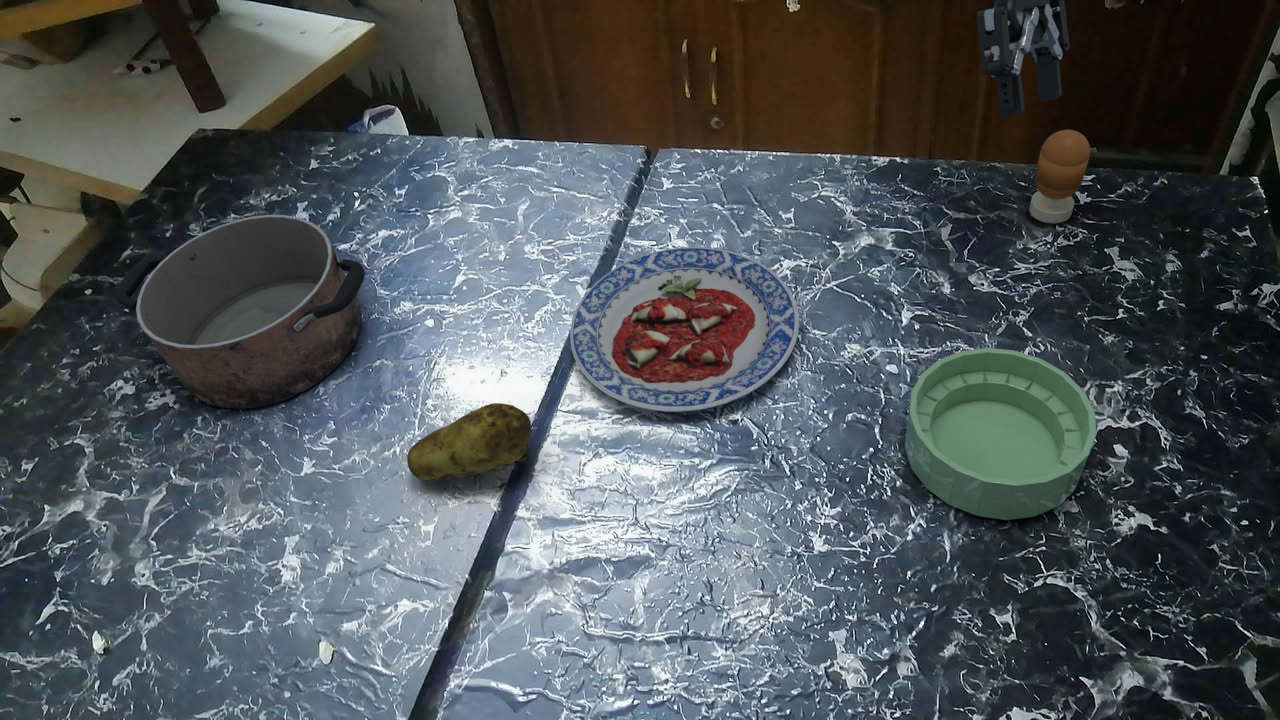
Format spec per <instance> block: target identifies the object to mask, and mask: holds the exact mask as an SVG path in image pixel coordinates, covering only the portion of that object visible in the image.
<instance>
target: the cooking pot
mask: <svg viewBox="0 0 1280 720" xmlns="http://www.w3.org/2000/svg"><path fill="white" fill-rule="evenodd" d="M345 272H347V274H346V273H345ZM365 276H366V271H365V269H364V267H363V264H361V263H360V262H358V261H356V260H352V259H351V260H350V259H345V258H343V259H342V258H341V256H340V255H339V254H338V252H335V250H334V247H333V245H332V243H331V241H330V239H329V237H328V235H327V234H326V233H325V232H324V230H323V229H322V228H321V227H319V225H317V224H315V223H313V222H311V221H310V220H307V219H304V218H301V217H298V216H292V215H286V214H265V215H256V216H249V217H244V218H240V219H236V220H233V221H230V222H226V223H223V224H220V225H218V226H216V227H213V228H211V229H208V230H206V231H204V232H202V233H200V234H198V235H197V236H194V237H193V238H191V239H189V240H188V241H186V242H185V243H183V244H181V245H180V246H178V247H177V248H176V249H175V250H173V251H172V252H171V253H169V254H163V255H162V254H161V255H151V256H148V257H145V258H143V259H141V260H140V261H138V262H137V263H136V264H135V265H134V266H133V267H132V268H131V269H130V270H129V271H128V273H126V275H125V276H124V278H123V279H122V280H121V282H120V283H119V285H118V286H117V288H116V290H115V294H114V296H115V299H116V301H117V302H118V303H119V304H120V305H122V306H123V307H125V308H127V309H129V310H130V311H133V312H136V317H137V318H136V319H137V322H138V324H139V325H140V327H141V329H142V330H143V332H144V333H145V335H146V337H148V339H149V340H150V341H151V343H152V344H153V345H154V347H155V348H156V350H157V351H158V352H159V354H160V355H161V357H162V358H163V360H164V361H165V362H166V364H167V365H168V366H169V368H170V369H171V371H172V372H173V373H174V374H175V376H176V377H177V378H178V381H180V383H181V384H182V385H183V387H184V388H185V389H186V390H187V391H188V392H189V393H190V394H191V395H192V396H194V398H196V399H197V400H198V401H199V400H200V401H201V402H203V403H205V404H207V405H211V406H215V407H219V408H223V409H225V408H226V409H238V410H239V409H241V410H242V409H243V410H244V409H254V408H261V407H266V406H269V405H273V404H277V403H280V402H282V401H285V400H288V399H291V398H293V397H296V396H297V395H299V394H302V393H303V392H306V391H307V390H309V389H311V388H312V387H314V386H315V385H317V384H318V383H320V382H321V381H322V380H324V379H325V378H326V377H328V376H329V375H330V374H331V373H332V372H333V371H334V370H336V369H337V367H338V366H339V365H340V364H342V362H343V361H344V360H345V359H346V357H347V356H348V354H349V352H351V349H352V348H353V346H354V345H355V343H356V340H357V338H358V335H359V333H360V330H361V323H362V312H361V305H360V302H359V301H358V298H357V294H358V292H359V291H360V289H361V287H362V284H363V282H364V279H365ZM146 277H147V278H146ZM145 279H146V280H145ZM144 280H145V281H144ZM143 281H144V283H143V284H142V282H143ZM141 284H142V286H141V289H140V291H139V294H138V297H137V299H134V298H132V296H133V295H134V294H135V292H136V291H137V289H138V288H139V287H140V285H141Z"/></svg>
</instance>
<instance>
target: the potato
mask: <svg viewBox="0 0 1280 720" xmlns="http://www.w3.org/2000/svg"><path fill="white" fill-rule="evenodd" d="M530 419H531V418H530V417H529V415H528V414H526V412H524V411H523V410H522V409H520V408H518V407H516V406H515V405H513V404H508V403H500V402H495V403H490V404H486V405H483V406H481V407H479V408H476V409H474V410H470V412H468V413H467V414H465V415H463V416H461V417H459V418H457V420H455V421H453V422H452V423H450V424H448V425H445V426H443V427H441V428H438V429H436V430H433V432H430V433H428V434H427V435H425V436H424V437H421V439H418V441H416V442H415V443H414V444H413V445H412V446H411V447H410V449H409V450H408V452H407V455H406V456H407V457H406V461H407V467H408V470H409V472H410V473H411V474H412V476H414V477H415V478H416V479H420V480H423V481H427V482H434V481H440V480H442V479H451V478H461V477H469V476H474V475H478V474H481V473H484V472H486V471H490V470H493V469H496V468H498V467H501V466H505V465H508V464H511V463H514V462H515V463H521V462H523V461H525V460H526V459H527V458H528V457H527V453H526V452H527V450H528V448H529V441H530V438H531V435H532V422H531V420H530Z"/></svg>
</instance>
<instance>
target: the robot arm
mask: <svg viewBox="0 0 1280 720" xmlns="http://www.w3.org/2000/svg"><path fill="white" fill-rule="evenodd" d="M1067 21H1068V20H1067V13H1066V4H1065V0H994V1H993V7H991V8H988V9H983V10H979V11H977V14H976V23H977V24H976V25H977V35H978V36H977V37H978V48H979V59H980V68H981V69H980V70H981V74H982V75H983V76H988V75H990V77H991V78H992V79H993V80H995V81H996V90H997V91H996V92H997V98H998V108H999V114H1000V115H1001V116H1002V117H1003V118H1005V117H1012V116H1019V115H1021V114H1023V113H1024V112H1025V110H1026V109H1025V99H1024V90H1023V80H1022V74H1020V73H1021V69H1022V65H1023V60H1024V57H1025V55H1027V54H1028V53H1030V54H1031V57H1032V58H1033V59H1032V60H1033V61H1034V63H1035V66H1034V69H1035V80H1036V89H1037V98H1038V100H1039V101H1040V102H1047V101H1049V102H1050V101H1054V100H1055V101H1056V100H1058V99H1060V98H1061V97H1062V95H1063V89H1062V79H1061V69H1060V60H1062V58H1063V53H1064V52H1068V51H1070V50H1069V49H1070V38H1069V30H1068V22H1067ZM992 55H993V60H992Z"/></svg>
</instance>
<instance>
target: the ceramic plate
mask: <svg viewBox="0 0 1280 720" xmlns="http://www.w3.org/2000/svg"><path fill="white" fill-rule="evenodd" d="M799 313H800V312H799V309H798V304H797V302H796V299H795V297H794V295H793V293H792V291H791V289H790V288H789V286H788V285H787V284H786V283H785V281H784V280H783V279H782V278H781V276H779V275H778V274H777V273H776V272H774V270H772V269H770V268H769V267H768V266H766V265H764V264H763V263H761V262H759V261H758V260H756V259H755V258H752V257H749V256H748V255H744V254H740V253H738V252H734V251H730V250H727V249H722V248H716V247H715V248H714V247H708V246H707V247H705V246H686V247H685V246H684V247H673V248H667V249H662V250H661V249H660V250H657V251H656V250H655V251H652V252H649V253H645V254H644V255H641V256H638V257H635V258H633V259H630V260H627V261H625V262H624V263H622V264H620V265H618V266H617V267H615V268H614V269H612V270H610V271H609V272H607V273H606V274H605V275H603V276H602V277H601V278H600V279H598V280H597V281H596V282H595V283H594V284H593V285H592V286H591V287H590V288H589V289H588V290H587V292H586V293H585V294H584V296H583V297H582V298H581V300H580V302H579V303H578V305H577V307H576V309H575V312H574V313H573V317H572V319H571V324H570V331H569V332H570V334H569V337H570V348H571V351H572V355H573V358H574V361H575V362H576V364H577V366H578V368H579V370H580V371H581V372H582V374H583V376H585V378H586V379H587V380H588V381H589V382H590V383H591V384H592V385H594V387H596V388H597V389H599V390H600V391H601V392H603V394H606V395H607V396H609V397H611V398H613V399H615V400H617V401H620V402H622V403H623V404H626V405H629V406H633V407H636V408H640V409H645V410H650V411H657V412H669V413H670V412H672V413H680V412H681V413H682V412H694V411H700V410H706V409H710V408H714V407H719V406H722V405H725V404H729V403H731V402H733V401H736V400H738V399H741V398H744V396H747V395H749V394H751V393H752V392H754V391H755V390H757V389H758V388H760V387H762V386H763V385H765V384H766V383H767V382H768V381H769V380H771V379H772V378H773V377H774V376H775V375H776V374H777V373H778V372H779V371H780V370H781V369H782V368H783V367H784V365H785V363H786V362H787V361H788V359H789V357H790V356H791V355H792V353H793V350H794V348H795V346H796V342H797V338H798V335H799V330H800V314H799Z"/></svg>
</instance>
